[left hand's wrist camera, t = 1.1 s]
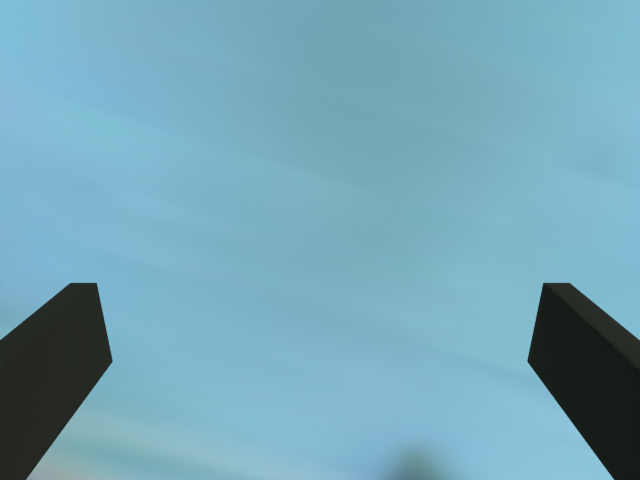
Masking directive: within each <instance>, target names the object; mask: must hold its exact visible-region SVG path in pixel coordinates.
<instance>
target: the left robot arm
mask: <svg viewBox="0 0 640 480" xmlns="http://www.w3.org/2000/svg"><path fill="white" fill-rule="evenodd" d="M112 362H113V361H112V356H111V351H110V346H109V341H108V336H107V331H106V327H105V322H104V317H103V312H102V307H101V302H100V297H99V292H98V287H97V283H70V284H69V285H67V286H66V287H65V288H64V289H63V290H61V291H60V292H59V293H58V294H56V295H55V296H54V297H53V298H52V299H50V300H49V301H48V302H47V303H45V304H44V305H43V306H42V307H41V308H39V309H38V310H37V311H36V312H34V313H33V314H32V315H31V316H30V317H28V318H27V319H26V320H25V321H23V322H22V323H21V324H20V325H19V326H17V327H16V328H15V329H14V330H12V331H11V332H10V333H9V334H8V335H6V336H5V337H4V338H3V339H1V340H0V480H26V479H27V477H28V476H29V475H30V473H31V472H32V471H33V469H34V468H35V466H36V465H37V464H38V462H39V461H40V460H41V458H42V457H43V456H44V454H45V453H46V452H47V450H48V449H49V447H50V446H51V445H52V443H53V442H54V441H55V439H56V438H57V437H58V435H59V434H60V432H61V431H62V430H63V428H64V427H65V426H66V424H67V423H68V422H69V420H70V419H71V417H72V416H73V415H74V413H75V412H76V411H77V409H78V408H79V407H80V405H81V404H82V402H83V401H84V400H85V398H86V397H87V396H88V394H89V393H90V392H91V390H92V389H93V388H94V386H95V385H96V383H97V382H98V381H99V379H100V378H101V377H102V375H103V374H104V373H105V371H106V370H107V368H108V367H109V366H110V364H111V363H112ZM527 362H528V363H529V364H530V366H531V367H532V368H533V370H534V371H535V373H536V374H537V375H538V377H539V378H540V379H541V381H542V382H543V383H544V385H545V386H546V388H547V389H548V390H549V392H550V393H551V394H552V396H553V397H554V398H555V400H556V401H557V402H558V404H559V405H560V407H561V408H562V409H563V411H564V412H565V413H566V415H567V416H568V417H569V419H570V420H571V422H572V423H573V424H574V426H575V427H576V428H577V430H578V431H579V432H580V434H581V435H582V437H583V438H584V439H585V441H586V442H587V443H588V445H589V446H590V447H591V449H592V450H593V452H594V453H595V454H596V456H597V457H598V458H599V460H600V461H601V462H602V464H603V465H604V466H605V468H606V469H607V471H608V472H609V473H610V475H611V476H612V477H613V479H614V480H640V340H639V339H637V338H636V337H635V336H634V335H632V334H631V333H630V332H629V331H628V330H626V329H625V328H624V327H623V326H621V325H620V324H619V323H618V322H617V321H615V320H614V319H613V318H612V317H610V316H609V315H608V314H607V313H606V312H604V311H603V310H602V309H601V308H599V307H598V306H597V305H596V304H595V303H593V302H592V301H591V300H590V299H588V298H587V297H586V296H585V295H584V294H582V293H581V292H580V291H579V290H577V289H576V288H575V287H574V286H573V285H571V284H570V283H543V287H542V292H541V297H540V302H539V307H538V312H537V317H536V322H535V327H534V331H533V336H532V341H531V346H530V351H529V356H528V361H527Z"/></svg>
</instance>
